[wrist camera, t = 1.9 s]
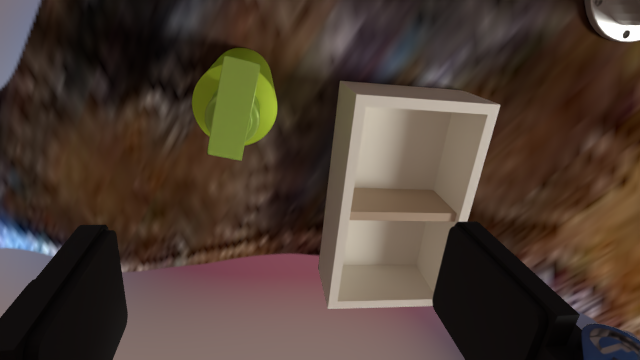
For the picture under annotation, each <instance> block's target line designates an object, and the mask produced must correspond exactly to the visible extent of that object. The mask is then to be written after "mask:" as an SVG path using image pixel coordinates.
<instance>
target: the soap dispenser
mask: <svg viewBox="0 0 640 360" xmlns="http://www.w3.org/2000/svg"><path fill="white" fill-rule="evenodd" d="M192 108H193V113H194V116H195V119H196V121H197V123H198V125H199V126H200V128H201V129H202V130H203V131H204V132H205V133H206V134H207V135H208V136H209V137H210V139H209V145H208V152H207V154H209V155H214V156H219V157H224V158H230V159H235V160H240V161H241V160H242V155H243V150H244V146H245V145H249V144H252V143H255V142H257V141H258V140H260V139H261V138H263V137H264V136H265V135H266V134H267V133H268V132H269V131H270V129H271V128H272V126H273V124H274V122H275V119H276V115H277V98H276V94H275V89H274V84H273V79H272V75H271V71H270V68H269V65H268V64H267V62H266V61H265V59H264V58H263V57H262V56H261V55H260V54H258V53H257V52H255V51H253V50H251V49H247V48H234V49H230V50H228V51H226V52H225V53H223V54H222V55H221V56H220V57H219V58H218V59H217V60H216V61H215V63H214V64H213V65H212V66H211V67H210V68H209V69H208V70H207V71H206V73H205V74H204V75H203V76H202V77H201V78H200V80H199V81H198V83H197V84H196V87H195V89H194V92H193V97H192Z"/></svg>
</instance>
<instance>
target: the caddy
mask: <svg viewBox="0 0 640 360" xmlns="http://www.w3.org/2000/svg"><path fill="white" fill-rule="evenodd" d="M499 108H500V104H497V103H494V102H492V101H489V100H486V99H484V98H481V97H478V96H476V95H473V94H470V93H468V92H465V91H462V90H452V89H440V88H427V87H414V86H402V85H389V84H376V83H363V82H351V81H340V85H339V93H338V102H337V111H336V119H335V128H334V137H333V145H332V154H331V162H330V171H329V180H328V188H327V197H326V206H325V214H324V223H323V232H322V240H321V249H320V257H319V266H318V269H319V274H320V278H321V282H322V286H323V290H324V294H325V299H326V303H327V308H328V309H341V308H373V307H408V306H409V307H411V306H433V303H432V299H433V294H434V290H435V286H436V282H437V278H438V274H439V269H440V265H441V261H442V257H443V253H444V249H445V245H446V241H447V237H448V233H449V230H450V228H451V227H454V225H455V224H456V223H457V222H467V221H468V217H469V214H470V210H471V206H472V203H473V199H474V196H475V192H476V189H477V185H478V182H479V178H480V175H481V171H482V168H483V164H484V161H485V157H486V154H487V150H488V147H489V143H490V140H491V136H492V133H493V129H494V126H495V122H496V119H497V115H498V111H499Z"/></svg>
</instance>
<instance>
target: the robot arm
mask: <svg viewBox="0 0 640 360" xmlns="http://www.w3.org/2000/svg"><path fill="white" fill-rule="evenodd" d="M585 8H586V14H587V17H588V19H589V22H590V24H591V25H592V27H593V28H594V30H595V31H596V32H597V33H598V34H600V35H601V36H602V37H604V38H606V39H608V40H611V41H617V42H634V41H640V0H585ZM432 303H433V307H434V310H435V312H436V313H437V315H438V316H439V318H440V319H441V321H442V323H443V324H444V326H445V328H446V329H447V331H448V333H449V334H450V336H451V337H452V339H453V341H454V342H455V344H456V345H457V347H458V349H459V350H460V352H461V353H462V355H463V357H464V358H465V360H640V341H639V340H638V339H637V338H635V337H633V336H631V335H630V334H628V333H626V332H624V331H622V330H619V329H617V328H615V327H611V326H608V325H604V324H595V323H594V324H587V325H586V326H584V327H583V328H582V330H581V329H580V328H579V327H578V326H577V325H576V322H577V320H578V318H579V314H578V313H577V312H576V311H575V310H574V309H573V308H572V307H571V306H570V305H569V304H567V303H566V302H565V301H564V300H563V299H562V298H561V297H560V296H559V295H558V294H556V293H555V292H554V291H553V290H552V289H551V288H550V287H549V286H548V285H547V284H546V283H544V282H543V281H542V280H541V279H540V278H539V277H538V276H537V275H536V274H535V273H533V272H532V271H531V270H530V269H529V268H528V267H527V266H526V265H525V264H524V263H522V262H521V261H520V260H519V259H518V258H517V257H516V256H515V255H514V254H513V253H512V252H510V251H509V250H508V249H507V248H506V247H505V246H504V245H503V244H502V243H501V242H499V241H498V240H497V239H496V238H495V237H494V236H493V235H492V234H491V233H490V232H488V231H487V230H486V229H485V228H484V227H483V226H482V225H481V224H480V223H478V222H457V223H456V224H455V225H454V227H451V228H450V230H449V233H448V237H447V241H446V245H445V249H444V253H443V257H442V261H441V265H440V269H439V274H438V278H437V282H436V286H435V290H434V294H433V299H432ZM127 315H128V314H127V306H126V299H125V292H124V285H123V278H122V271H121V264H120V257H119V250H118V243H117V236H116V233H115V231H114V230H108V227H107V226H106V225H80V226H79V227H78V228H77V229H76V230H75V231H74V233H73V234H72V235H71V236H70V237H69V239H68V240H67V241H66V242H65V244H64V245H63V246H62V247H61V248H60V250H59V251H58V252H57V253H56V254H55V256H54V257H53V258H52V259H51V261H50V262H49V263H48V264H47V265H46V267H45V268H44V269H43V270H42V272H41V273H40V274H39V275H38V276H37V278H36V279H34V280H32V281H31V282H30V283H29V284H28V285H27V286H26V288H25V289H24V290H23V291H22V292H21V294H20V295H19V296H18V297H17V298H16V300H15V301H14V302H13V303H12V305H11V306H10V307H9V308H8V309H7V310H6V312H5V313H4V314H3V315H2V316H1V318H0V360H113V357H114V355H115V352H116V350H117V347H118V345H119V342H120V340H121V337H122V335H123V332H124V330H125V327H126V324H127Z"/></svg>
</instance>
